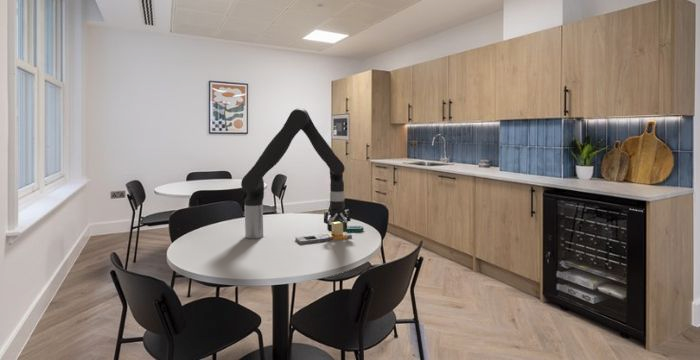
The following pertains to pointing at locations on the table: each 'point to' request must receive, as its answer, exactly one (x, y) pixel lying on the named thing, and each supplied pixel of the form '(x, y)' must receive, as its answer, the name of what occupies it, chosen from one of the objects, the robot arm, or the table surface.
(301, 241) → the rail
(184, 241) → the table surface
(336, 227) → the block
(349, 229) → the bracket
